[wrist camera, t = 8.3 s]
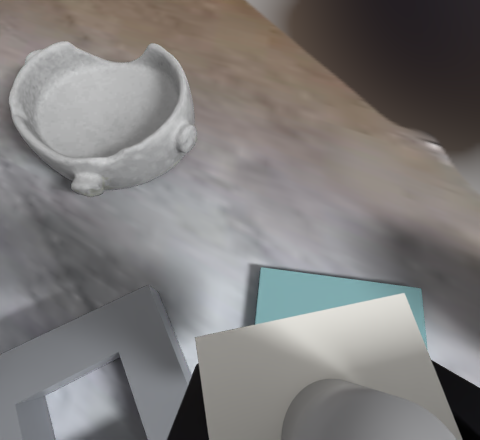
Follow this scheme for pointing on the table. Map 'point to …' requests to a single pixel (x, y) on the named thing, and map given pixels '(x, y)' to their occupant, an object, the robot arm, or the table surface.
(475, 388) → the robot arm
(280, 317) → the teal mat
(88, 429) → the table surface
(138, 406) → the socket block
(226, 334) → the plug
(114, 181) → the dish
